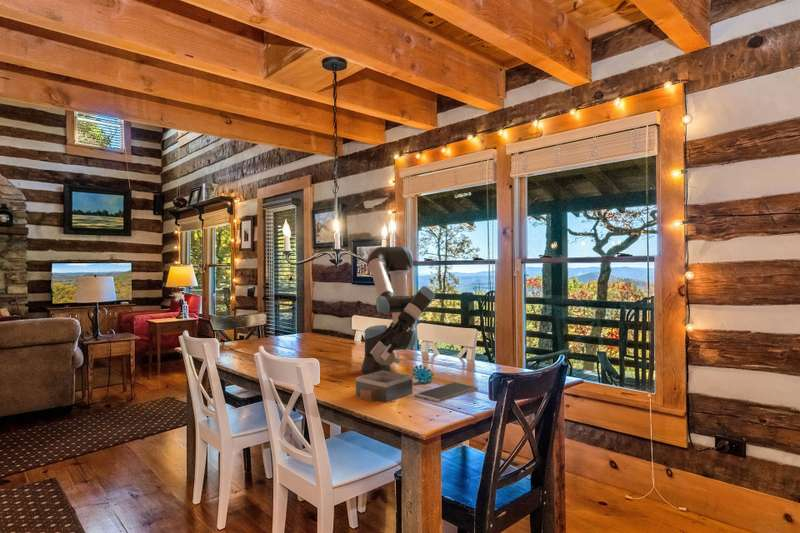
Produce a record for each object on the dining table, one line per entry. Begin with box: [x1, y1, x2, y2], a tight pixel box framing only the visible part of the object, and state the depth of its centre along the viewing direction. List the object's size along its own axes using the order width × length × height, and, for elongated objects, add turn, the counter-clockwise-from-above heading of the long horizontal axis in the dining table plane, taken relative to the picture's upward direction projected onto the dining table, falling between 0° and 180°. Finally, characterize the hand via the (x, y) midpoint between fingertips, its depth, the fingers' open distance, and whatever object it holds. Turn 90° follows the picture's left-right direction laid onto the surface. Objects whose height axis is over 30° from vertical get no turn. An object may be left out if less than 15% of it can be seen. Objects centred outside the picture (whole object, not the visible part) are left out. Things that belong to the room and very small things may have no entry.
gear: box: [412, 364, 435, 385], centre depth 221 cm, size 11×6×10 cm
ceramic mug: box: [373, 345, 401, 366], centre depth 201 cm, size 11×8×8 cm
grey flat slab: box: [414, 381, 479, 403], centre depth 201 cm, size 13×27×2 cm, turn 134°
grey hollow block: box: [355, 370, 413, 403], centre depth 199 cm, size 17×20×8 cm
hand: (377, 356), depth 198 cm, fingers closed on ceramic mug, 9 cm apart
